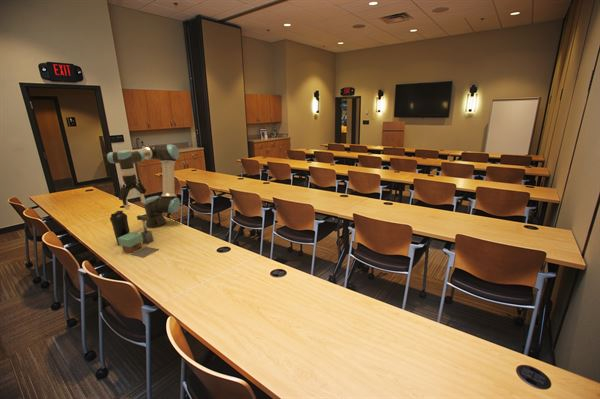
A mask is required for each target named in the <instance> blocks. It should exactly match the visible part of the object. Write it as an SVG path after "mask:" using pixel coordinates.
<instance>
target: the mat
mask: <svg viewBox="0 0 600 399" xmlns="http://www.w3.org/2000/svg"><path fill="white" fill-rule="evenodd" d="M159 250H160V249H159V248H155V247H149V246H144V247H142V248H141V249H139V250H137V251H135V252H133V253H129V255H130V256H132V257H134V256H135V257H139V258H147V256H149V255H151V254H153V253H156V252H157V251H159Z"/></svg>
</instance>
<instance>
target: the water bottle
mask: <svg viewBox="0 0 600 399" xmlns="http://www.w3.org/2000/svg"><path fill="white" fill-rule="evenodd" d="M110 214H111V215H110V218H109V221H110V222H111V226H112V229H113V232H114V236H115V240H116V243H117V246H120V245H119V242H118V238H119V237H121V236H124V235H126V234H128V233H131V232H130V227H129V221H128V215H127V214H126V213H124V210H117V211H116V212H114V213H110Z"/></svg>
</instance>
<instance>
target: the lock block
mask: <svg viewBox="0 0 600 399" xmlns="http://www.w3.org/2000/svg"><path fill="white" fill-rule="evenodd" d="M139 234H142V237H143V241H142V242H141V244H142V245H143V244H144V245H149V244H152V243H154V237H153V231H152V230H148V229H147V231H146V232H144V230H143V231H141V232H139Z"/></svg>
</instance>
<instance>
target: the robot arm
mask: <svg viewBox="0 0 600 399" xmlns="http://www.w3.org/2000/svg"><path fill="white" fill-rule="evenodd" d="M106 158H107V161H108V163H110V164H119V167H120V173H121V175H122V181H123V183H124V184H120V191H119V196H118V201H119V200H120V201H122V205H123V206H124V209H125V210H128V211H129V210H130V205H129V201H128V200H129V199H127V198H128V196H129V193H130V191H131V190H134V189H135V190H136V191H137V192H139V199H140V201H141V204H143V206H144V211H145V216H148V217H149V220H148V221H145V223H146V227H147V229H148V228H149V229H154V228H155V229H156V228H160V227H162V226H165V225H166V224H167V219H166V217H165V216H164V214H166V213H167V214H168V213H169V214H172V213H173V214H174V213H176V212H178V211H179V210H180V207H181V206H180V205H181V200H180V198H178V196H177V194H176V193H175V187H176V186H175V163H176V162H177V160H178V159H179V158H180V152H179V149H178V147H177V145H174V144H170V143H169V144H154V145H149V146H144V147H141V148H139V149H138V148H137V149H131V150H129V149H127V150H126V149H125V150H119V151H110V152H108V153H107V155H106ZM144 160H147V161H148V160H158V161H159V162H160V163H161V166H162V168H161V170H162V171H161V172H162V173H161V174H162V194H161V195H153V196H150V197H147V198H146V196H145V194H146V192H147V189H146V188H145V186H144V185H143V184H142V181H141V179H137V175H136V171H135V167H134V164H138V163H141V162H143V161H144Z"/></svg>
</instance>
